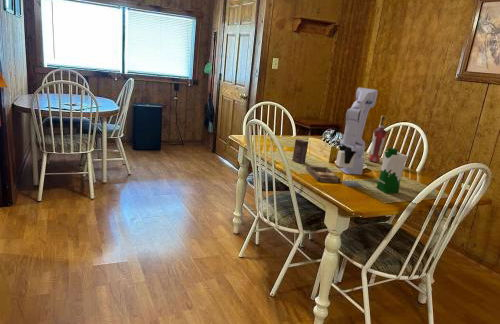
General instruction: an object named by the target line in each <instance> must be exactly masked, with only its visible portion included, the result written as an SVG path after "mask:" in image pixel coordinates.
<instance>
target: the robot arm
mask: <svg viewBox="0 0 500 324" xmlns="http://www.w3.org/2000/svg"><path fill="white" fill-rule="evenodd" d="M377 98H378V89H371V88H366V87H360V86H359V87H358V88H357V89H356V92H355V101H353V103H352V105H351V107H350V108H347V110H346V113H345V122H344V123H345V127H344V132H343V138H342V139H340V140H339V144H340V145H338V148H339V149H338V150H341V151H345V164H349V163H350V161H351V159H352V157H353V156H354V154H355V159H354V163H353V168H349V167H339V170H340V171H342V172H343V173H344V174H346V175H363V169H364V165H365V159H364V154H365V150H366V142H365V141H364V139H363V133H364V130H365V127H366V124H367V123H366V122H367V118H368V115H369V111H370V110H371V109H372V108H374V107H375V105H376V102H377Z"/></svg>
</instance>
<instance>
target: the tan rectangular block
mask: <svg viewBox="0 0 500 324" xmlns="http://www.w3.org/2000/svg"><path fill="white" fill-rule="evenodd" d="M316 174H317V175H318V176H320V177H330V178H336V175H337V174H336V173H334V172H333V173H326V172H325V171H316Z"/></svg>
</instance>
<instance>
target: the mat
mask: <svg viewBox="0 0 500 324" xmlns="http://www.w3.org/2000/svg"><path fill="white" fill-rule="evenodd" d="M340 183H342V184H343V185H344V186H346V187H347V188H349V187H350V188H364V186H363V185H362V184H361V183H359V182H358V181H353V180H352V181H351V180H340Z"/></svg>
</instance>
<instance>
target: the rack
mask: <svg viewBox="0 0 500 324" xmlns="http://www.w3.org/2000/svg"><path fill="white" fill-rule="evenodd" d="M305 169H306V172H307V173H308V174H309V175H311V176H312V177H313V178H314V179H315V180H316V181H317V182H321V183H322V182H323V183H334V184H335V183H339V184H340V183H341V181H342V180H341V177H339V176H338V175H337V174H335V175H336V178H330V177H320V176H318V175H317V172H326V173H334V172H333V171H332V170H331V169H330V168H328V167H327V166H326V167H325V166H313V165H312V166H311V165H306V167H305Z"/></svg>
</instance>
